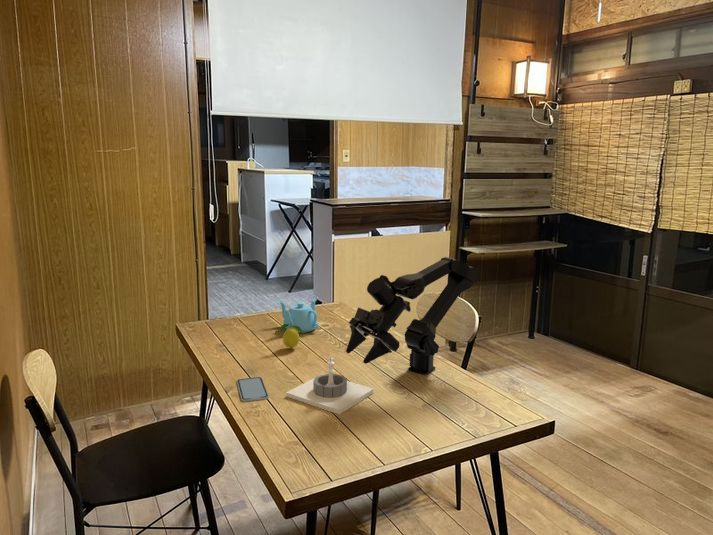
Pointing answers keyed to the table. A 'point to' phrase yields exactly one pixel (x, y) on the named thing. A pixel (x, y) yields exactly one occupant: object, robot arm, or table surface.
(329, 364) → the chess piece
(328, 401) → the collar board
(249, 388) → the smartphone
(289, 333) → the lemon
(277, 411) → the table surface
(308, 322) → the teapot
